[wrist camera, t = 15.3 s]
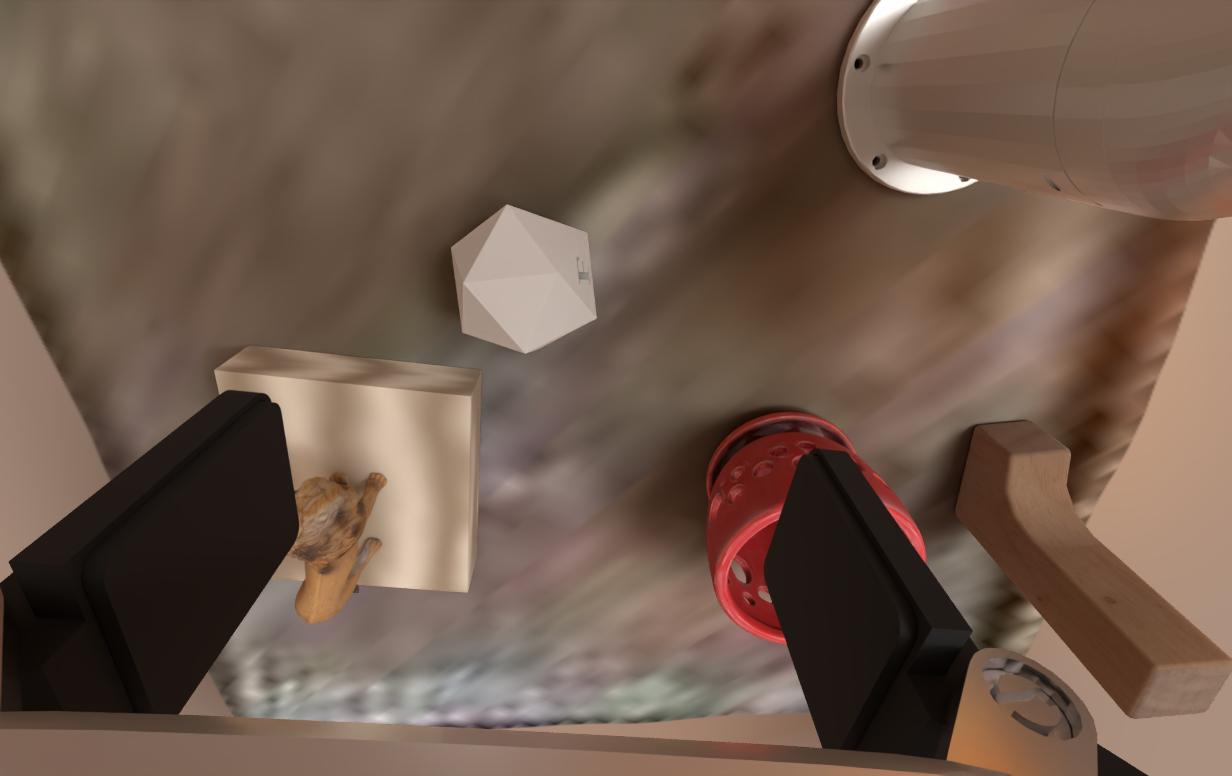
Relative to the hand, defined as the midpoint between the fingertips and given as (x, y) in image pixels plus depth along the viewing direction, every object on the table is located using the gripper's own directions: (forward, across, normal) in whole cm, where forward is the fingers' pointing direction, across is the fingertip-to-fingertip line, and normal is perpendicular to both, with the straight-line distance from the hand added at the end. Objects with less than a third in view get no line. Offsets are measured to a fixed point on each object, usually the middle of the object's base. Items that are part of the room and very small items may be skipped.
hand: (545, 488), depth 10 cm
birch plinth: (+28, +14, +21) cm, 38 cm away
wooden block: (+28, -35, +16) cm, 48 cm away
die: (+28, +3, +4) cm, 29 cm away
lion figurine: (+24, +14, +22) cm, 36 cm away
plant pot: (+28, -17, +18) cm, 38 cm away
